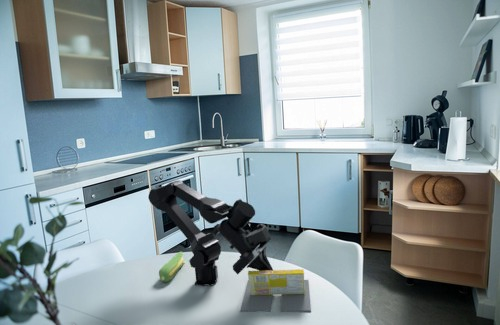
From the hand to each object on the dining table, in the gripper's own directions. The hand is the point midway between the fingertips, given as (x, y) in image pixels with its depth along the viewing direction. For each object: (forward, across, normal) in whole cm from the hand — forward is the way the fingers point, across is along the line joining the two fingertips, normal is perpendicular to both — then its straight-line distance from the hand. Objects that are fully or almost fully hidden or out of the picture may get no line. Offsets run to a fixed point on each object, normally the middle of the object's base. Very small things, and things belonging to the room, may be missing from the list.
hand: (272, 273), depth 110 cm
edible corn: (-23, +6, +33) cm, 41 cm away
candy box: (+5, 0, +4) cm, 6 cm away
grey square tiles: (+6, 0, +4) cm, 7 cm away
